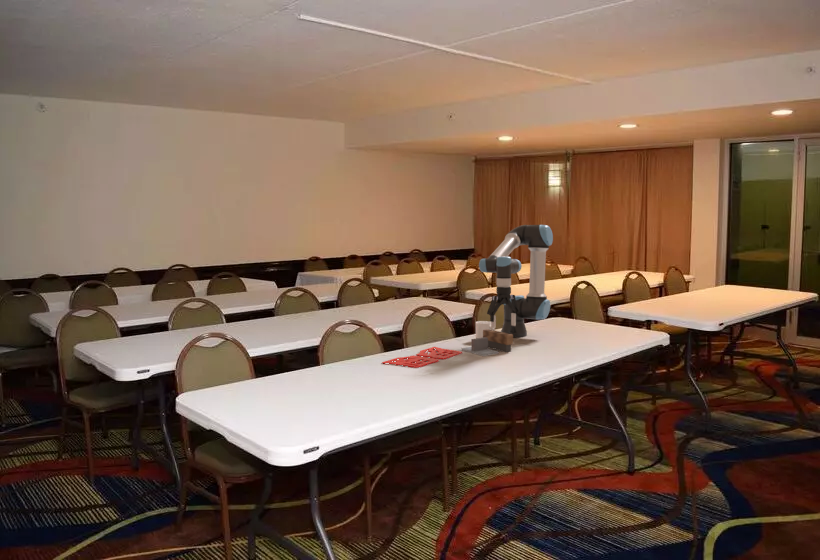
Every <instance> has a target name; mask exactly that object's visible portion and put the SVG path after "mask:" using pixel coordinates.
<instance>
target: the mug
mask: <svg viewBox="0 0 820 560" xmlns="http://www.w3.org/2000/svg"><path fill="white" fill-rule="evenodd" d="M486 329H490V330H495V328H491V321H487V320H478V321H475V339H476V338H483V330H486Z"/></svg>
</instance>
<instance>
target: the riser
mask: <svg viewBox="0 0 820 560" xmlns="http://www.w3.org/2000/svg"><path fill="white" fill-rule="evenodd" d="M488 349H491V350H495V351H501V352H505V353H510V352H512V344H511V345H505V344H501V343H497V342H493V341H489V340H488Z"/></svg>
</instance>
